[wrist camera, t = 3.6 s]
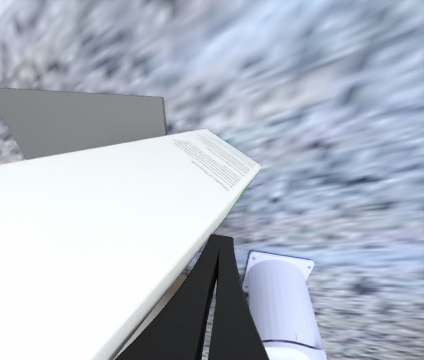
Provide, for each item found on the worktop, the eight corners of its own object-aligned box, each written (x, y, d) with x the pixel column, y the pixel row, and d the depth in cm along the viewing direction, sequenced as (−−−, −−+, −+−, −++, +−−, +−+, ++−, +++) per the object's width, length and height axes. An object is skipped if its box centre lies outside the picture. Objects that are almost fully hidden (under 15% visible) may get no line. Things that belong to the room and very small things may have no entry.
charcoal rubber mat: (175, 216, 23) (174, 218, 23) (52, 199, 25) (49, 200, 25) (163, 97, 16) (161, 97, 15) (-10, 87, 18) (-15, 87, 18)
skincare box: (221, 223, 20) (50, 449, 7) (175, 187, 21) (-42, 321, 8) (265, 162, 15) (0, 508, 2) (203, 121, 16) (-197, 189, 3)
